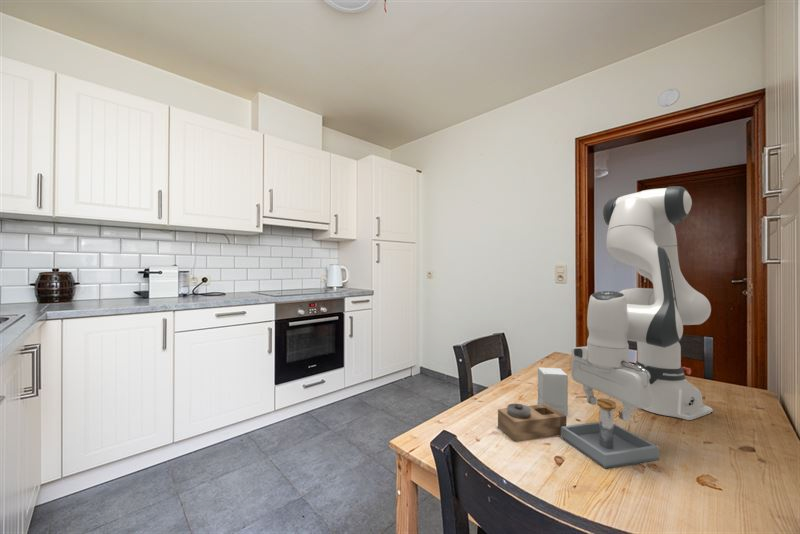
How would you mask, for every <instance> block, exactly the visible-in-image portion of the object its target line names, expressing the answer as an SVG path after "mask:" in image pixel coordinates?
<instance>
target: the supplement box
mask: <svg viewBox="0 0 800 534" xmlns="http://www.w3.org/2000/svg"><path fill="white" fill-rule="evenodd" d="M568 376H569V375H568V374H567V373H566V372H565V371H564V370H563V369H562V368H560V367H559V368H558V367H557V368H556V367H540V366H539V367H538V368H537V405H542V404H547V405H549V406H550V407H552V408H554V409H555V410H557V411H559V412H561V413H562V414H564V415H566V416H568V415H569V414H568V413H569V412H568V409H569V404H568V402H569V401H568V400H569V399H568V398H569V397H568V396H569V395H568V394H569V390H568V387H569V386H568V385H569V383H568V381H569V379H568Z"/></svg>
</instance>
